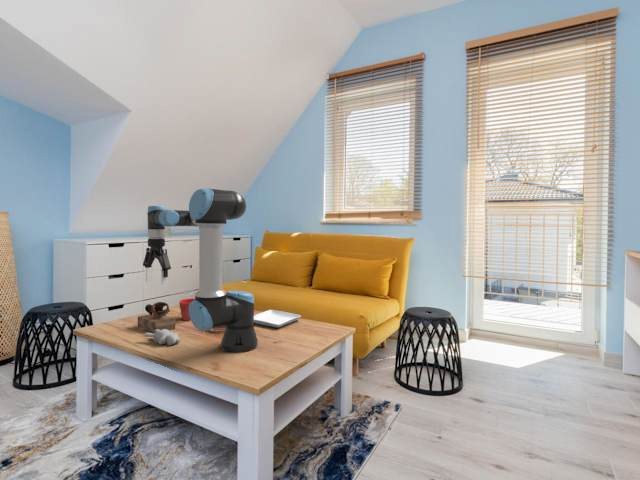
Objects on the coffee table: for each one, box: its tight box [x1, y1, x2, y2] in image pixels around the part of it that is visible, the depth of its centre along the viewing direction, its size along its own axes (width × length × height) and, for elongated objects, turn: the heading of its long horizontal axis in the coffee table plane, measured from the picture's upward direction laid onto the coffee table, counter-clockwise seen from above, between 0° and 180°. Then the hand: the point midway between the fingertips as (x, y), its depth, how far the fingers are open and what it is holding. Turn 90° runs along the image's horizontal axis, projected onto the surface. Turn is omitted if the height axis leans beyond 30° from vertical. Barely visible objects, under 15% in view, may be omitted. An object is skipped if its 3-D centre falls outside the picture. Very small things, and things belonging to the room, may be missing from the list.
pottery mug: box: [144, 301, 171, 320], centre depth 180 cm, size 12×10×8 cm
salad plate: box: [254, 309, 302, 328], centre depth 195 cm, size 21×21×3 cm
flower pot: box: [179, 298, 195, 322], centre depth 198 cm, size 11×11×10 cm
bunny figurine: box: [143, 329, 181, 346], centre depth 160 cm, size 10×5×15 cm
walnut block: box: [137, 313, 176, 334], centre depth 180 cm, size 16×10×5 cm, turn 54°
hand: (156, 282), depth 179 cm, fingers open, 13 cm apart
